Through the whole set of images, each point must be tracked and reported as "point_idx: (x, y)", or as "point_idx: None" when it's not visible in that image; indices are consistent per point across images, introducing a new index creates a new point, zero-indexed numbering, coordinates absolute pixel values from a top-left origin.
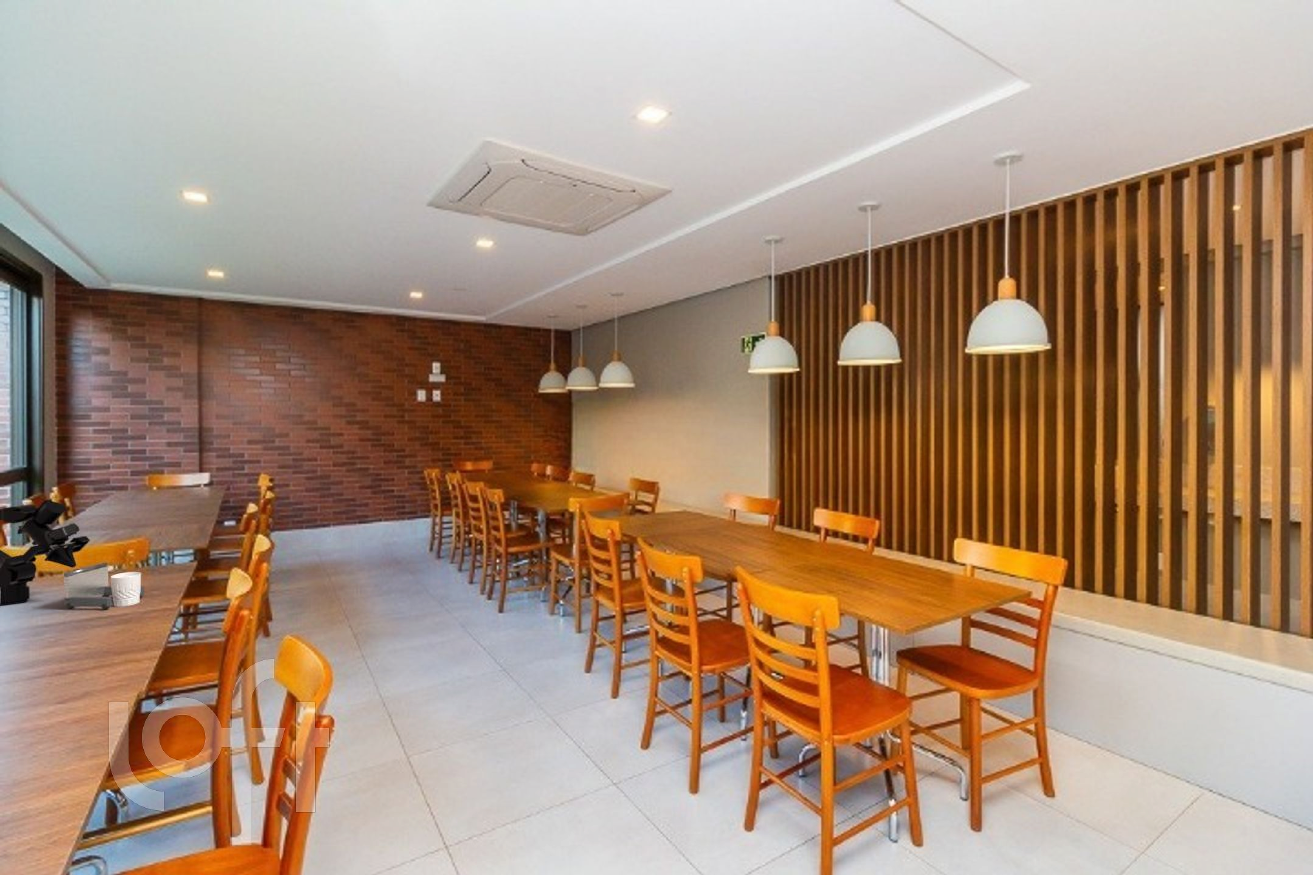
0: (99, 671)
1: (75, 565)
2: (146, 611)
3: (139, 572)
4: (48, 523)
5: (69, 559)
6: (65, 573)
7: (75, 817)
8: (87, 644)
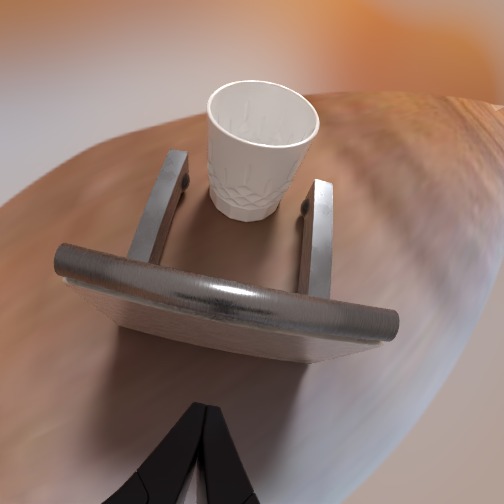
0: (485, 124)
1: (202, 404)
2: (321, 124)
3: (222, 87)
4: None
5: (220, 467)
6: (395, 326)
7: None
8: (466, 153)
